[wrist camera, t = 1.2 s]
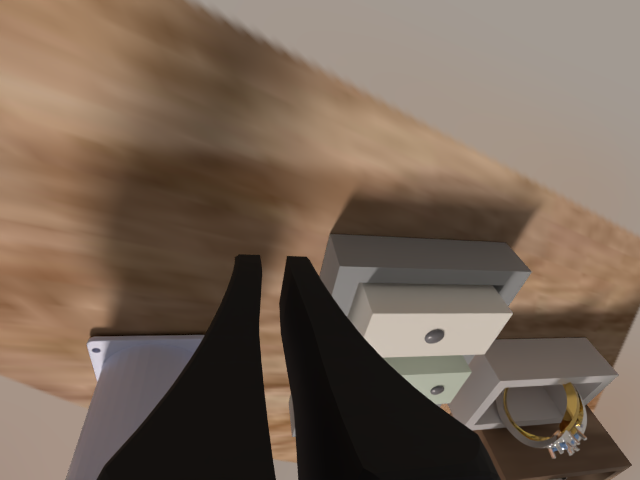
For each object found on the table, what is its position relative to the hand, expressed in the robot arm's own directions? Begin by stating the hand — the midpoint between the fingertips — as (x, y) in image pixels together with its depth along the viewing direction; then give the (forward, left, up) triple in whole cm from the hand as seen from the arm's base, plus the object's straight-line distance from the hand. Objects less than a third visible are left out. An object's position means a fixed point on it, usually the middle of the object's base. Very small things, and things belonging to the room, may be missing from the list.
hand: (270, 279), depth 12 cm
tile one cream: (-8, -11, -7) cm, 16 cm away
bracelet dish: (-19, -26, -9) cm, 34 cm away
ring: (-19, -26, -9) cm, 34 cm away
